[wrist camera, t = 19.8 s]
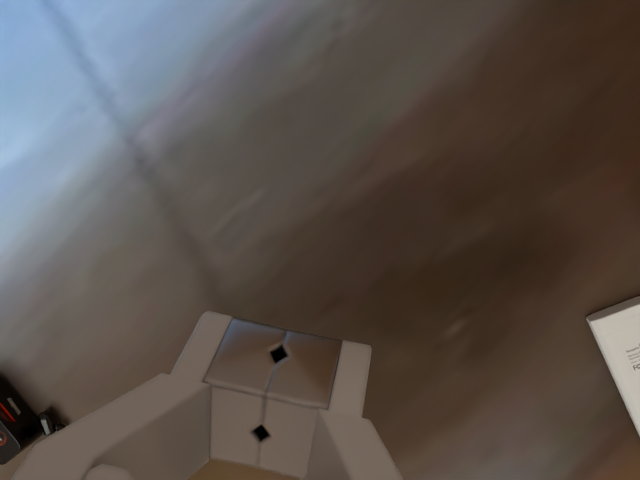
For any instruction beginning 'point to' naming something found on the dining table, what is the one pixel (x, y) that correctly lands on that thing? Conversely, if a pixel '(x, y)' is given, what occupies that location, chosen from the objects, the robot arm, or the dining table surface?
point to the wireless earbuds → (20, 424)
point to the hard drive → (621, 349)
